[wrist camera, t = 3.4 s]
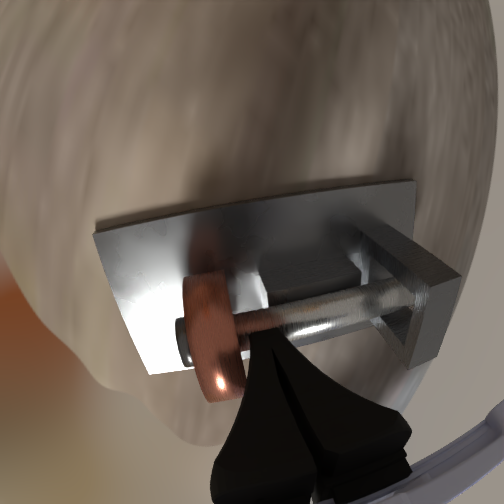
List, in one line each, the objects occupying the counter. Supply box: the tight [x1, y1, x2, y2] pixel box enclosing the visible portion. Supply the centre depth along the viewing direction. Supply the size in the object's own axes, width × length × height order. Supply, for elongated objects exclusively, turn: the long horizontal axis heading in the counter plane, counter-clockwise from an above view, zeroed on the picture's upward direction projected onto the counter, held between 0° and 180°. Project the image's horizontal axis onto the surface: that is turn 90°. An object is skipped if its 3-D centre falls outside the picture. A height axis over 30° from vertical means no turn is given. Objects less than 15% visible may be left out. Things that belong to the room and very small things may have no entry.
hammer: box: [175, 269, 416, 403], centre depth 14 cm, size 6×14×6 cm, turn 97°
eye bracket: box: [92, 179, 462, 374], centre depth 14 cm, size 10×18×7 cm, turn 97°
